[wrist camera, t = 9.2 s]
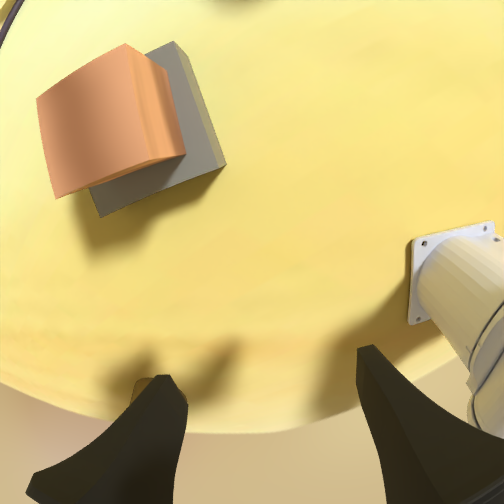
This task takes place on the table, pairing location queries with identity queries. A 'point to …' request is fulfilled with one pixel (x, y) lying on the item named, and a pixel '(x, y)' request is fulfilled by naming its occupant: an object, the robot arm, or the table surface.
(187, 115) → the gray block
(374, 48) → the table surface
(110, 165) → the terracotta cube
